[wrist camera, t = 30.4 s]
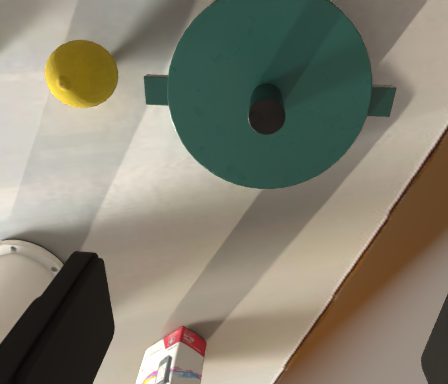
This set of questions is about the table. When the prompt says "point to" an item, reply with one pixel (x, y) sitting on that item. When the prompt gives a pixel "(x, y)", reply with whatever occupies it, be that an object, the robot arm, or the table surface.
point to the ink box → (174, 359)
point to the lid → (269, 89)
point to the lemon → (81, 74)
